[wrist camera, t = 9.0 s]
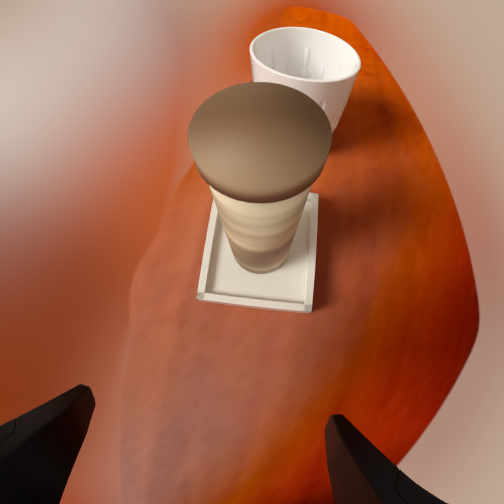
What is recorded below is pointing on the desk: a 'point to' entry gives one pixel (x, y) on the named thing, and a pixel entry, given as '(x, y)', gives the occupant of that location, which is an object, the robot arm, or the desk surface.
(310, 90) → the white cup
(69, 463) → the robot arm
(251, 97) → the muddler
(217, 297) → the tray
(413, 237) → the desk surface
